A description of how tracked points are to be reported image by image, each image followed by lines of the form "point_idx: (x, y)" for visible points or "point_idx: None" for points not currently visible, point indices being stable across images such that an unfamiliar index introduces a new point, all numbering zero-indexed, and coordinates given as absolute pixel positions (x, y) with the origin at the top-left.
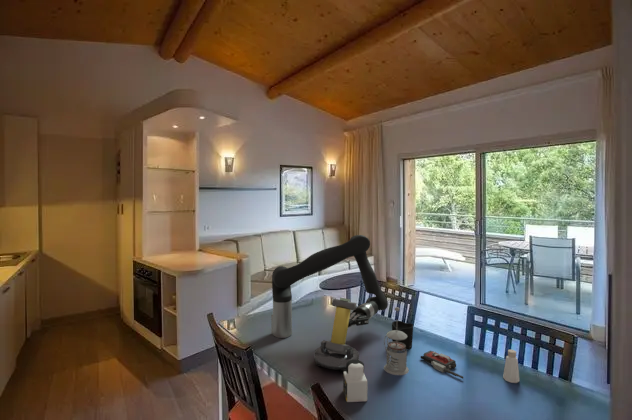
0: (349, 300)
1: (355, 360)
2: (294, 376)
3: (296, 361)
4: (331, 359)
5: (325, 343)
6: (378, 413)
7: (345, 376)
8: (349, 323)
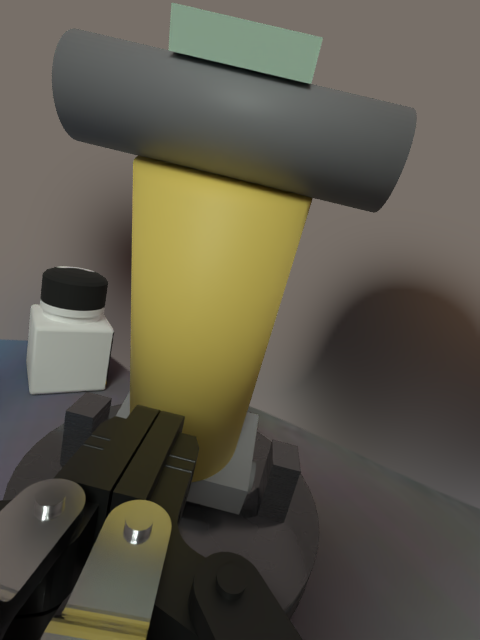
0: (174, 27)
1: (75, 273)
2: (287, 430)
3: (366, 516)
4: None
5: (270, 456)
6: (4, 341)
7: (105, 318)
8: (121, 418)
